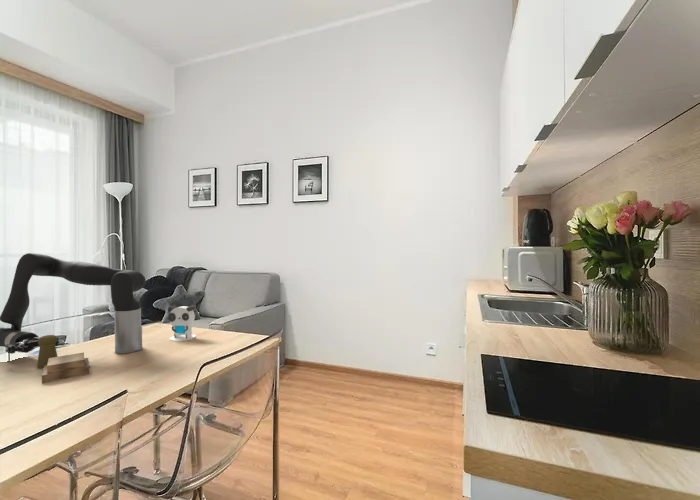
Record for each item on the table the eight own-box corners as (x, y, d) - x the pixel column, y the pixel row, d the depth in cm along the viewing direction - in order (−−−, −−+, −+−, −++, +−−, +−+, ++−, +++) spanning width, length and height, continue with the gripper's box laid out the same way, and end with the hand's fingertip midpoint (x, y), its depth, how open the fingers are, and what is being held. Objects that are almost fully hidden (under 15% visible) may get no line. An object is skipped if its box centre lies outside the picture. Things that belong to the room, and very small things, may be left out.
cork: (45, 369, 119) (44, 338, 119) (32, 367, 121) (31, 337, 120) (63, 363, 125) (62, 334, 125) (50, 362, 127) (49, 333, 126)
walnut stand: (88, 364, 124) (88, 350, 124) (89, 374, 115) (89, 359, 115) (44, 372, 116) (44, 357, 116) (41, 383, 107) (41, 367, 107)
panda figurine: (162, 340, 154) (161, 308, 154) (178, 334, 165) (178, 303, 165) (186, 341, 152) (185, 309, 152) (200, 335, 164) (200, 304, 163)
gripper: (-4, 336, 125) (16, 341, 118) (44, 327, 138) (65, 331, 131) (-3, 356, 125) (17, 362, 118) (44, 345, 138) (65, 350, 131)
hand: (42, 346), depth 125 cm, fingers open, 8 cm apart
